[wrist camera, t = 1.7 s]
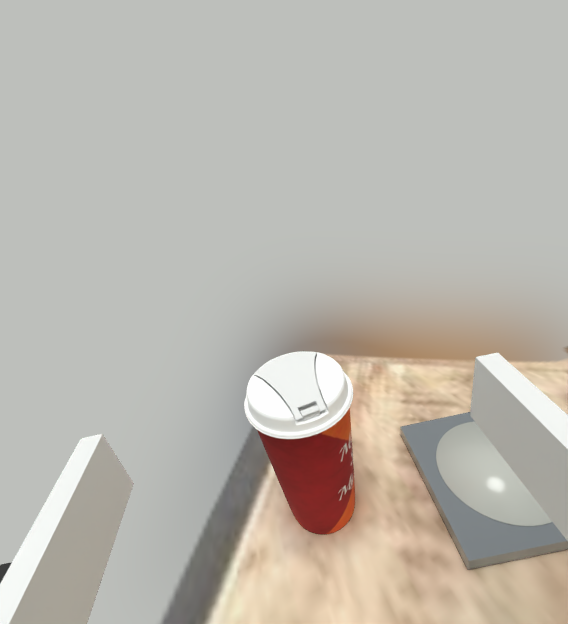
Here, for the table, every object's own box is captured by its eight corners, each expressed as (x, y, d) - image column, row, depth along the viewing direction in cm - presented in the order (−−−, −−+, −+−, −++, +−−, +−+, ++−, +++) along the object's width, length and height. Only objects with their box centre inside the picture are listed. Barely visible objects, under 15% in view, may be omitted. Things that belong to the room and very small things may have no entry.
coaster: (518, 410, 34) (520, 400, 34) (638, 534, 24) (644, 524, 23) (400, 435, 34) (400, 426, 34) (467, 569, 24) (468, 560, 23)
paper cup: (385, 525, 27) (372, 396, 21) (295, 565, 26) (251, 441, 20) (343, 450, 34) (324, 334, 28) (270, 479, 33) (232, 366, 26)
